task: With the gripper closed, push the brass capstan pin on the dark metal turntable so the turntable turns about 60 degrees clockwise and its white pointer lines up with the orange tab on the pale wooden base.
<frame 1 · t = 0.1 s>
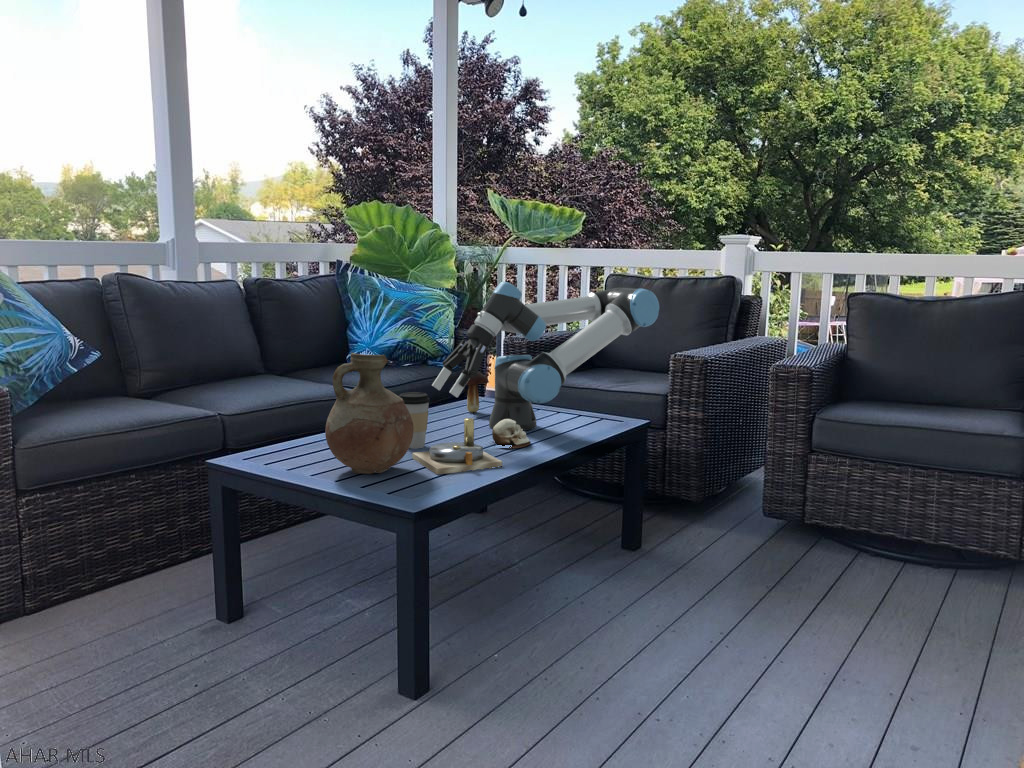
hand: (444, 391, 230), 15 cm above the table, tool tilted 35°, fingers open, 13 cm apart
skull: (509, 446, 232), on the table
base plate: (456, 462, 211), on the table
coffee cup: (413, 447, 228), on the table
jug: (370, 471, 201), on the table
decorative mushroom: (473, 413, 280), on the table
turntable: (456, 439, 210), point 6 cm above the table, hinge at 0.0°
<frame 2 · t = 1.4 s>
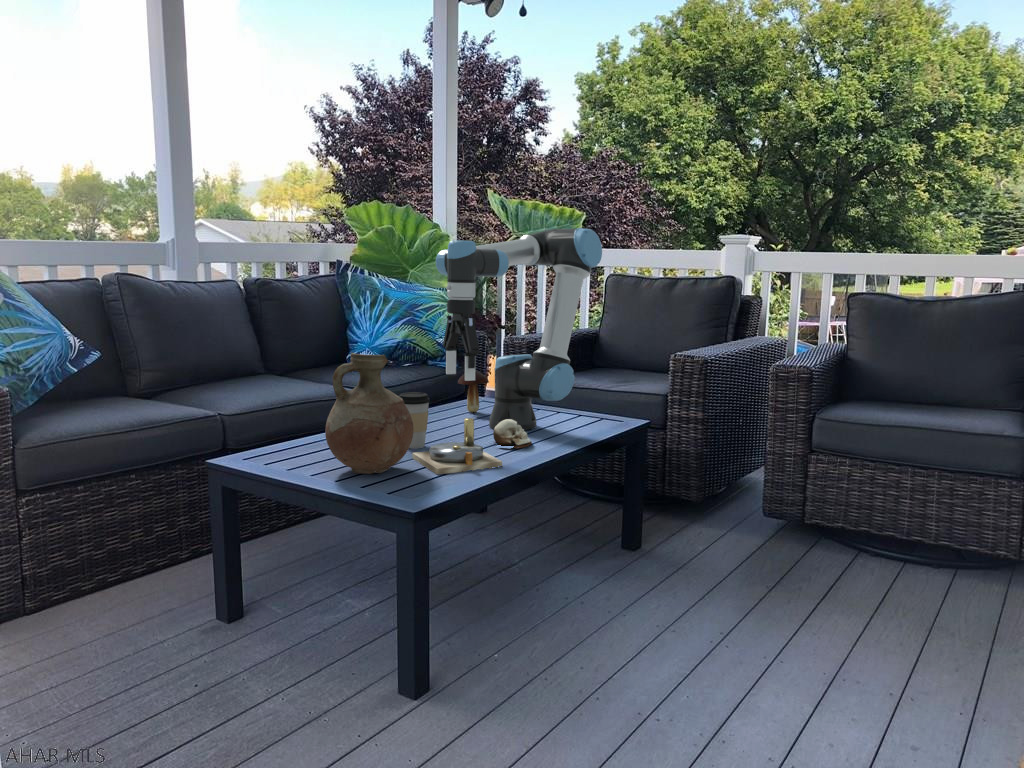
hand: (460, 377, 218), 21 cm above the table, tool pointing down, fingers open, 13 cm apart
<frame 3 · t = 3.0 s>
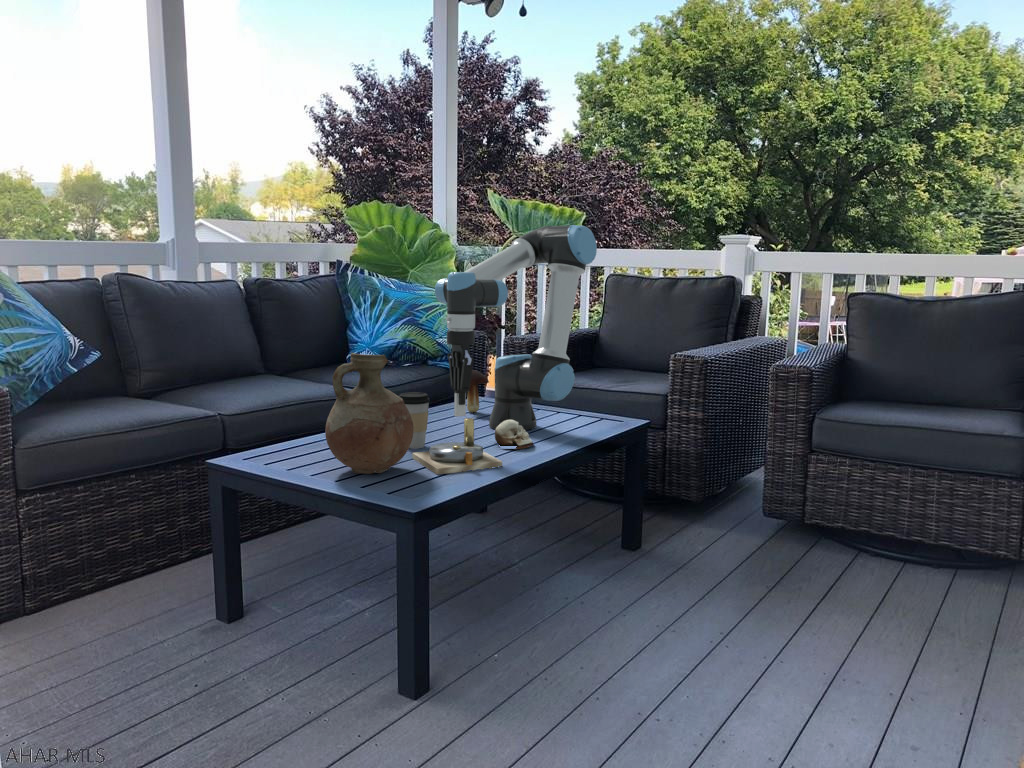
hand: (459, 415, 219), 10 cm above the table, tool pointing down, fingers closed
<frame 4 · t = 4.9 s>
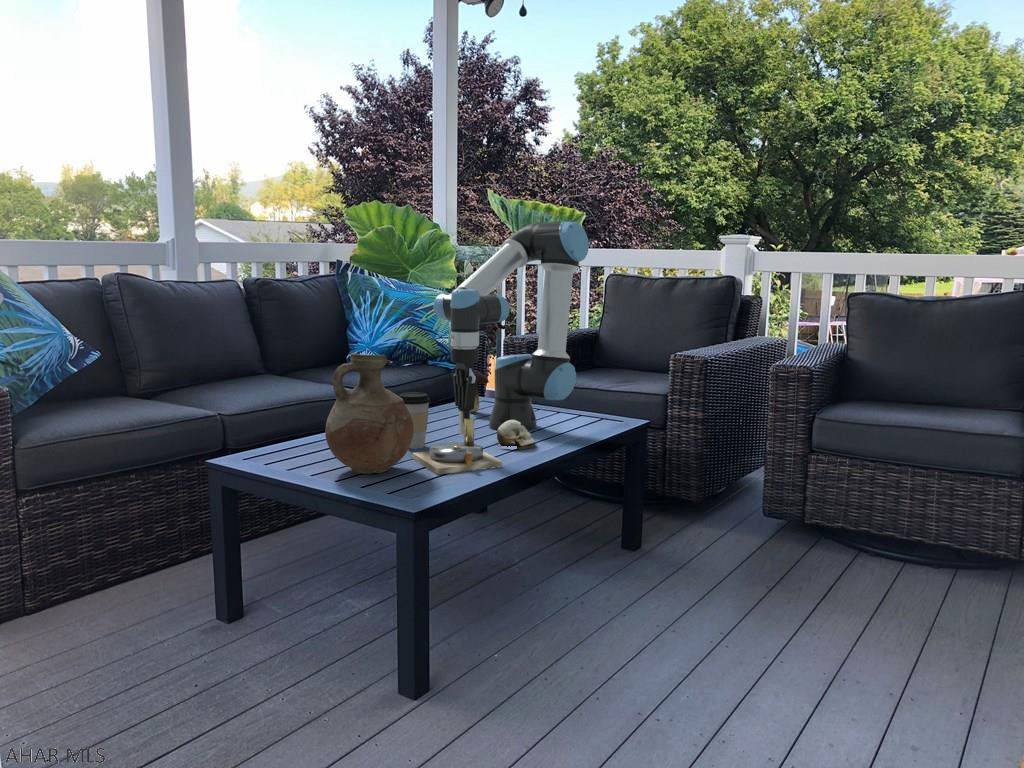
hand: (464, 433, 218), 6 cm above the table, tool pointing down, fingers closed
turntable: (456, 439, 210), point 6 cm above the table, hinge at 0.0°, touching gripper
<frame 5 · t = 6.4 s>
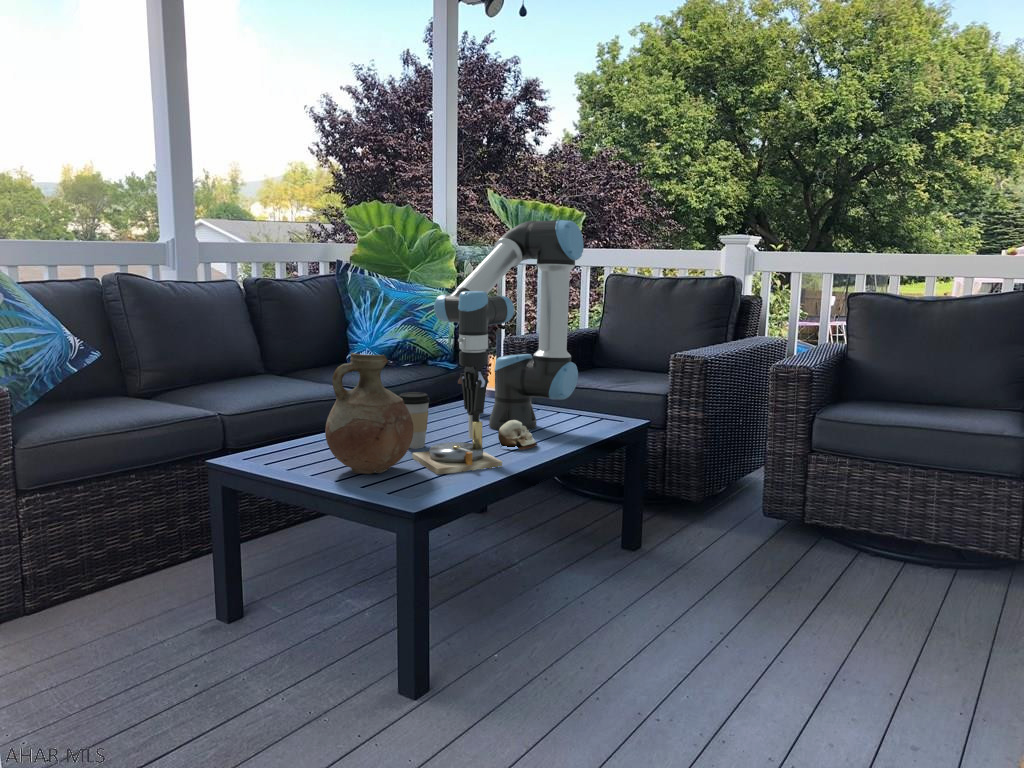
hand: (474, 437, 214), 6 cm above the table, tool pointing down, fingers closed
turntable: (456, 439, 210), point 6 cm above the table, hinge at -47.0°, touching gripper
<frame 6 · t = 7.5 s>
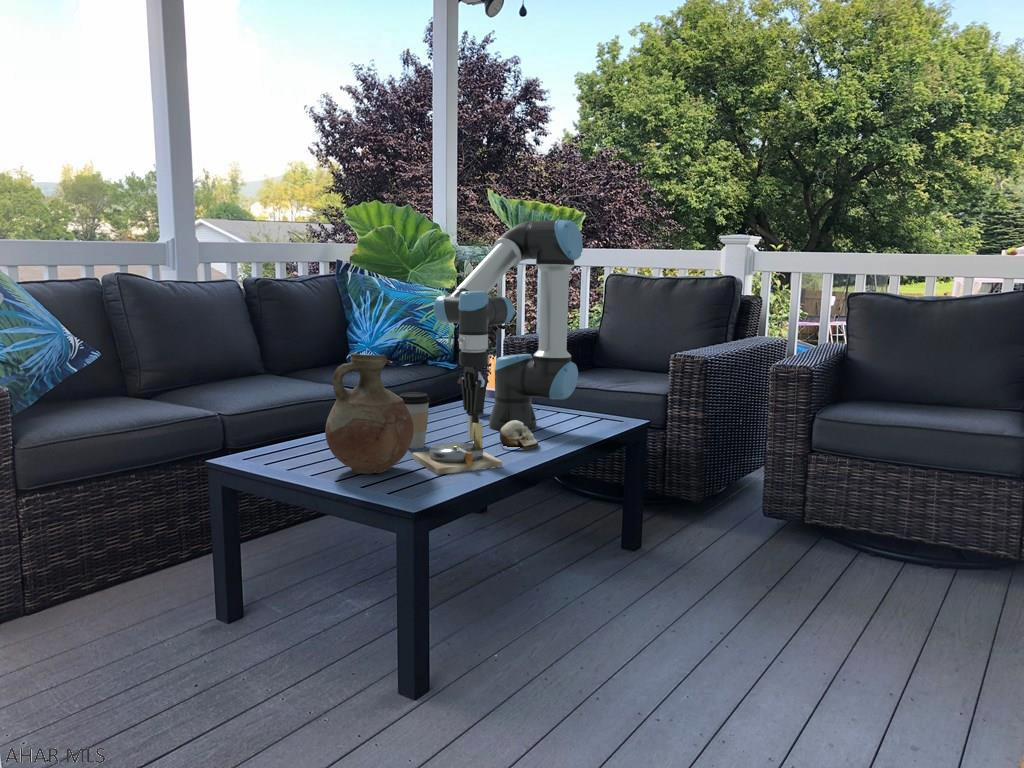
hand: (473, 438, 213), 6 cm above the table, tool pointing down, fingers closed
turntable: (456, 439, 210), point 6 cm above the table, hinge at -60.8°
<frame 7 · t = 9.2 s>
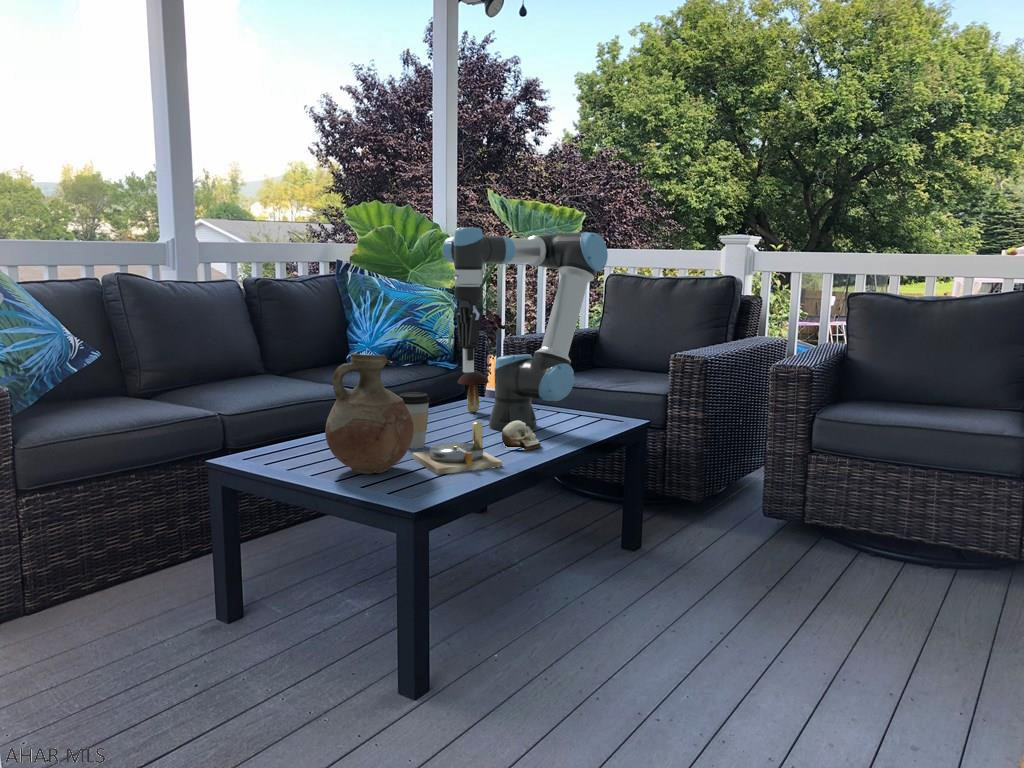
hand: (468, 371, 221), 22 cm above the table, tool pointing down, fingers closed
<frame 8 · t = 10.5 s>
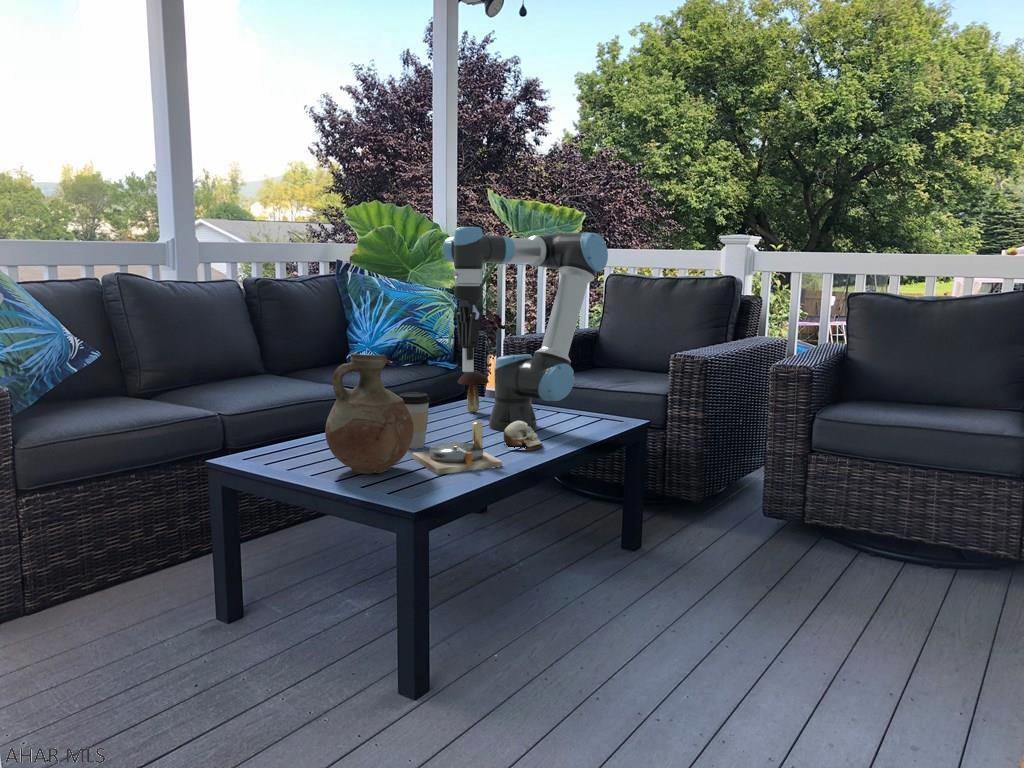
hand: (468, 371, 221), 22 cm above the table, tool pointing down, fingers closed
at the end: turntable at -61° (first picture: +0°) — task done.
